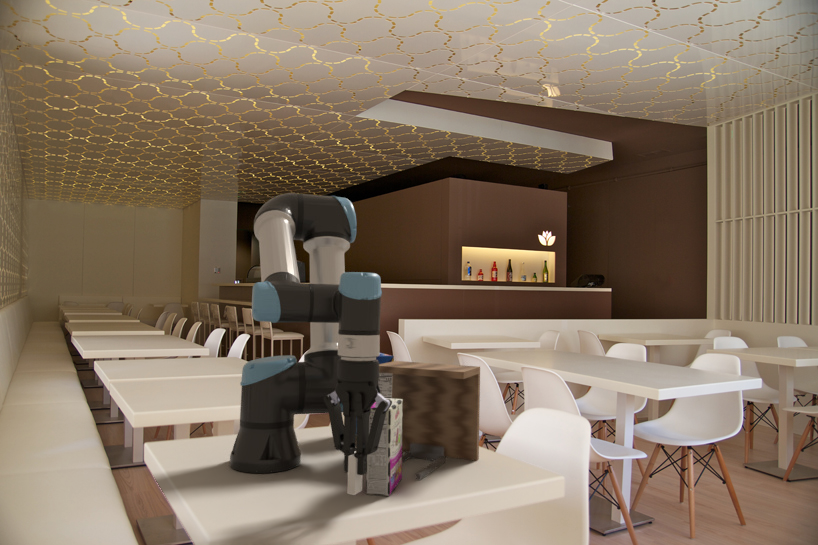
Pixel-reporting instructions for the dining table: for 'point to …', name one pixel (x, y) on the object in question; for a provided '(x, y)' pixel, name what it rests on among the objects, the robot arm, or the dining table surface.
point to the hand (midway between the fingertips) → (354, 491)
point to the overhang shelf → (437, 410)
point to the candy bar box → (386, 453)
